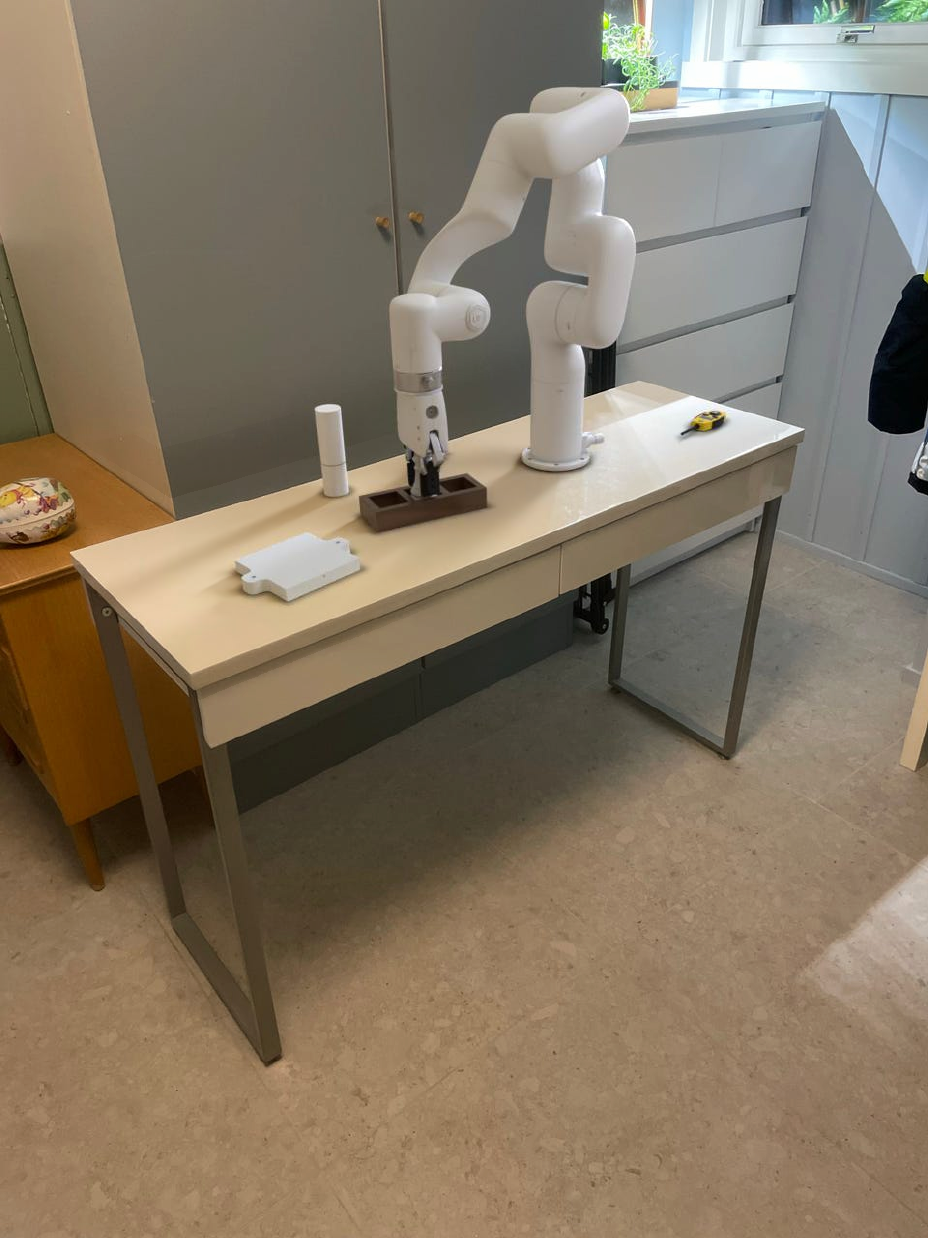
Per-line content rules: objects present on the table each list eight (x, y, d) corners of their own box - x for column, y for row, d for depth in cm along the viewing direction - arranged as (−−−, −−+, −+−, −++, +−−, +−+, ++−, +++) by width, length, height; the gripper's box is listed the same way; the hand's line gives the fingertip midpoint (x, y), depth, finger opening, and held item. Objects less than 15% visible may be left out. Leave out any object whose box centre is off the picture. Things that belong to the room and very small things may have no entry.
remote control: (731, 411, 187) (692, 431, 178) (730, 421, 188) (691, 440, 179) (710, 407, 190) (670, 425, 181) (709, 416, 191) (669, 435, 182)
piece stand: (360, 515, 153) (358, 495, 151) (467, 491, 160) (466, 472, 158) (377, 532, 147) (375, 512, 145) (487, 507, 155) (487, 487, 153)
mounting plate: (272, 608, 127) (270, 596, 126) (221, 577, 135) (219, 565, 134) (373, 563, 138) (372, 552, 137) (321, 537, 146) (319, 526, 145)
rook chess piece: (424, 490, 155) (422, 445, 151) (443, 498, 153) (441, 452, 148) (404, 498, 153) (402, 452, 149) (423, 506, 150) (420, 459, 146)
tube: (344, 497, 159) (336, 412, 152) (320, 496, 160) (311, 411, 152) (351, 487, 163) (344, 404, 155) (328, 486, 164) (319, 403, 156)
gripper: (464, 389, 137) (467, 503, 147) (417, 362, 150) (423, 468, 160) (418, 397, 134) (424, 513, 144) (374, 369, 147) (383, 476, 157)
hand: (423, 488), depth 152 cm, fingers closed on rook chess piece, 4 cm apart
